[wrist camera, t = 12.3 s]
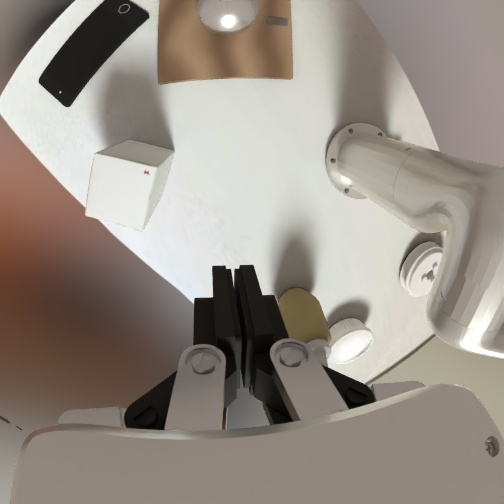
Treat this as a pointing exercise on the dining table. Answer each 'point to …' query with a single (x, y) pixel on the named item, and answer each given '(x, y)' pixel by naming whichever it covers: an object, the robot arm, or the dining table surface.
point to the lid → (421, 269)
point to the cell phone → (90, 48)
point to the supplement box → (128, 183)
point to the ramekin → (349, 340)
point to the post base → (223, 45)
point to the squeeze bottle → (306, 321)
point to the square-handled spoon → (227, 15)
